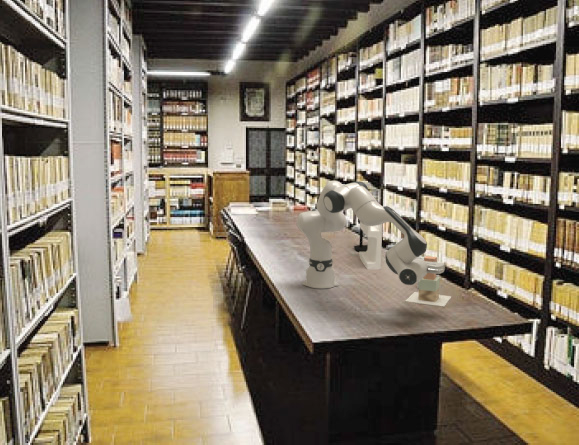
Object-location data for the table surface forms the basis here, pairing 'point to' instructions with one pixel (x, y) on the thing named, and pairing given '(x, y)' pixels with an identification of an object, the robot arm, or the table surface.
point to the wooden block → (428, 295)
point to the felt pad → (440, 301)
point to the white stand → (372, 246)
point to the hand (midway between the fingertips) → (424, 262)
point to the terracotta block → (430, 275)
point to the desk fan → (361, 242)
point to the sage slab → (429, 284)
